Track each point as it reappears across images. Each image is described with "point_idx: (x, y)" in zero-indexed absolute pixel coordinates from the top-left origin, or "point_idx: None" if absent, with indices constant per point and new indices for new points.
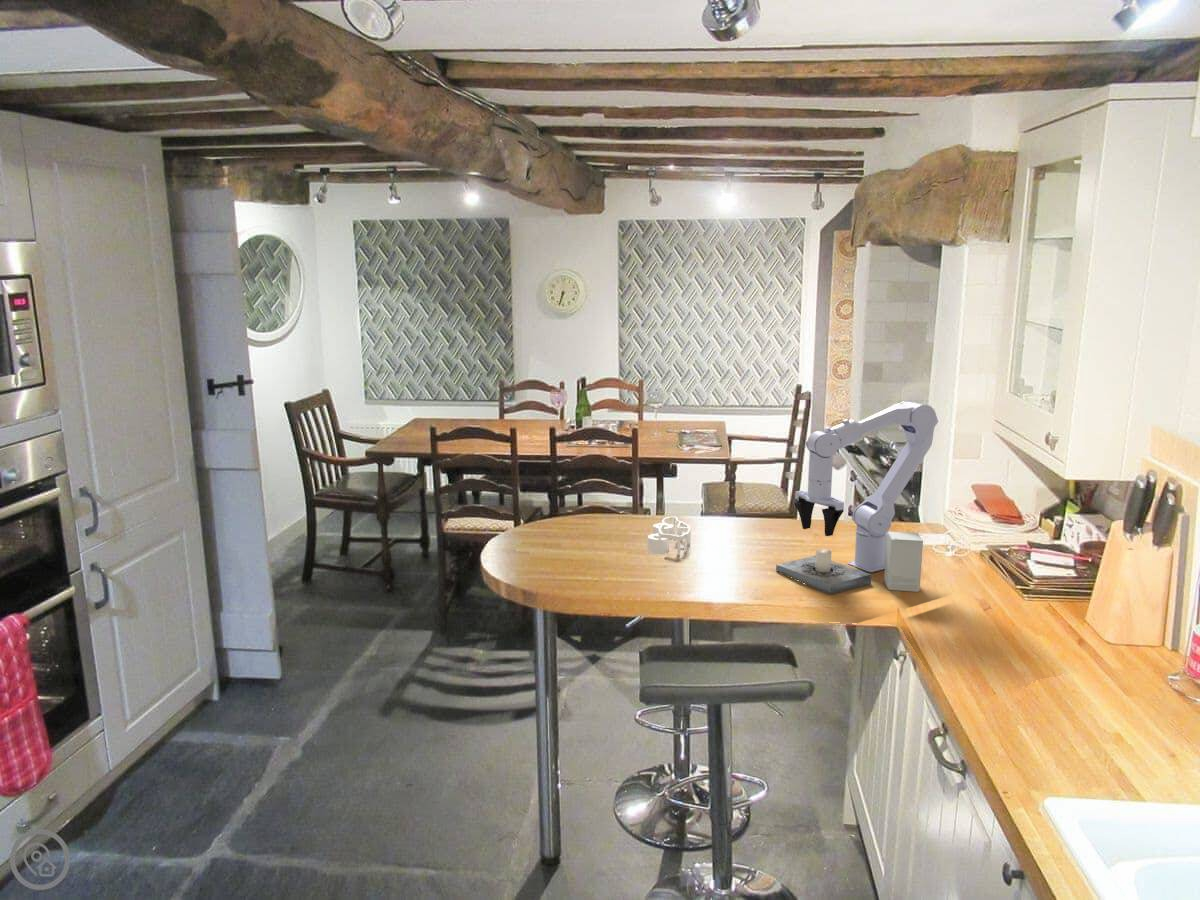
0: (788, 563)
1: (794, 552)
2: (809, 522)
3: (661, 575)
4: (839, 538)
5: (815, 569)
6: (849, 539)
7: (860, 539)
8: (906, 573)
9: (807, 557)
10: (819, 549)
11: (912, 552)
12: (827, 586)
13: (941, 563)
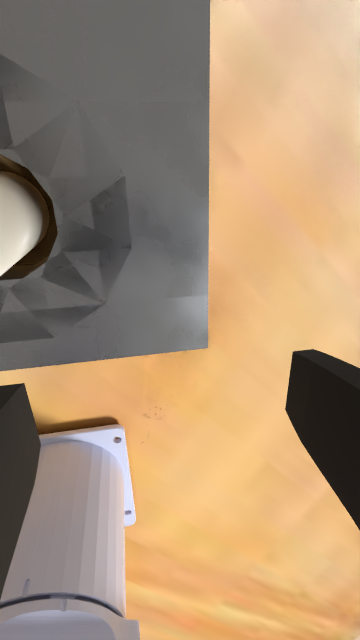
0: (182, 107)
1: (347, 352)
2: (315, 440)
3: None
4: (333, 537)
5: (11, 180)
6: (309, 552)
7: (36, 565)
8: None
9: (205, 292)
10: (1, 250)
11: None
12: None
13: None
